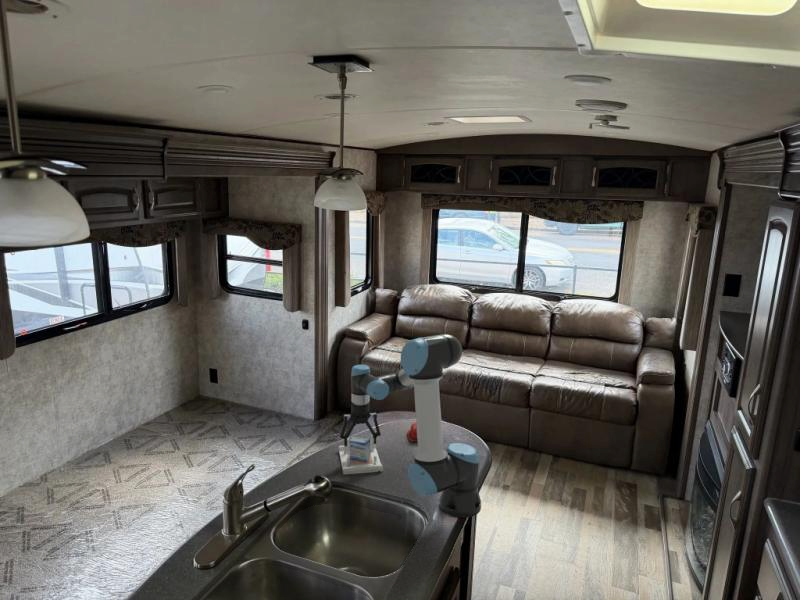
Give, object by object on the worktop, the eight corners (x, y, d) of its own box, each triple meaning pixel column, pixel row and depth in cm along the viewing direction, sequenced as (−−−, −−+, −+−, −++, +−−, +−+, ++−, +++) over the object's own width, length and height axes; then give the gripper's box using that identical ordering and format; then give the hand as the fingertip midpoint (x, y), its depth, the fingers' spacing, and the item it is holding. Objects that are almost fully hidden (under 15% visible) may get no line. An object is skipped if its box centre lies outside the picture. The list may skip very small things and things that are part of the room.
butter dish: (430, 432, 263) (431, 415, 261) (434, 443, 251) (434, 425, 250) (406, 432, 262) (407, 415, 260) (409, 443, 250) (409, 426, 249)
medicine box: (349, 459, 232) (348, 440, 230) (353, 454, 236) (352, 435, 234) (366, 462, 230) (366, 443, 228) (370, 457, 234) (370, 438, 232)
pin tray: (382, 471, 225) (382, 461, 224) (343, 474, 222) (343, 464, 221) (375, 448, 244) (375, 439, 244) (339, 451, 241) (339, 441, 240)
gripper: (385, 397, 234) (384, 445, 238) (332, 400, 229) (332, 449, 234) (388, 404, 226) (387, 454, 231) (334, 407, 222) (334, 458, 227)
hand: (360, 451), depth 232 cm, fingers open, 10 cm apart
